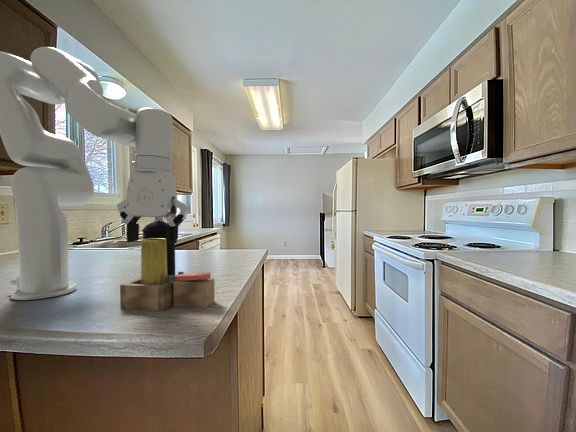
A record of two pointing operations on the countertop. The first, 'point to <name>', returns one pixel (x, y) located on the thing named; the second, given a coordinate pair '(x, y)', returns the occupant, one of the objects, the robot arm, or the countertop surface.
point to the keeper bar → (192, 276)
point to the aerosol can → (160, 231)
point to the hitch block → (167, 294)
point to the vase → (154, 261)
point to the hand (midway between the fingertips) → (152, 242)
